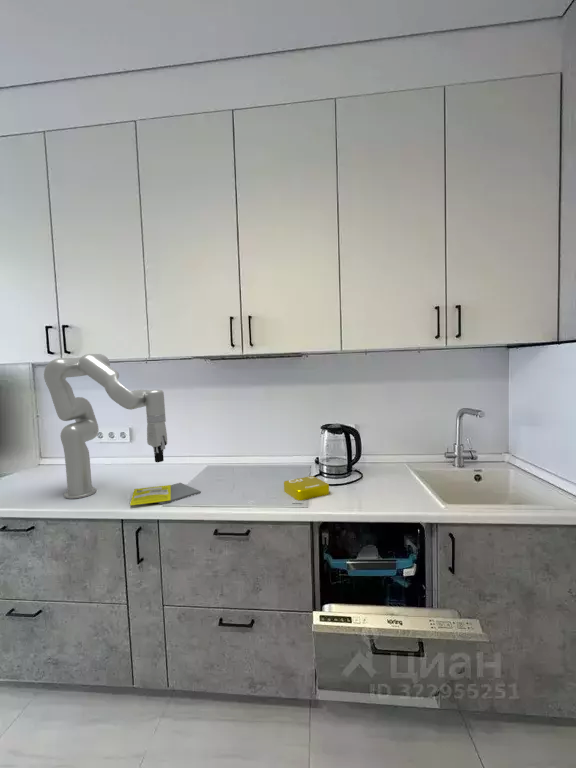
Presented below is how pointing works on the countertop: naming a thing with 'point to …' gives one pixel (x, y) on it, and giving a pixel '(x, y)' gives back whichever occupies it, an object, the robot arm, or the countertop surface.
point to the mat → (180, 492)
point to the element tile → (306, 488)
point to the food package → (151, 495)
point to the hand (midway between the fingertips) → (159, 461)
